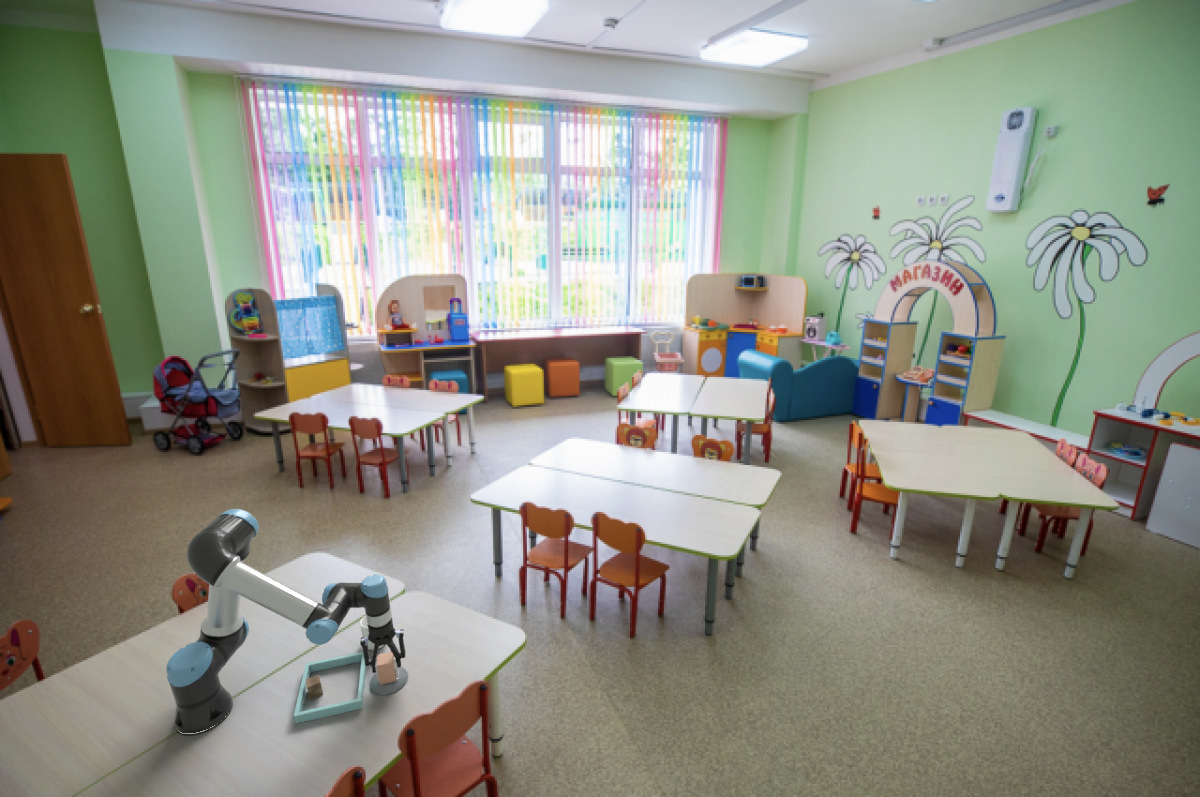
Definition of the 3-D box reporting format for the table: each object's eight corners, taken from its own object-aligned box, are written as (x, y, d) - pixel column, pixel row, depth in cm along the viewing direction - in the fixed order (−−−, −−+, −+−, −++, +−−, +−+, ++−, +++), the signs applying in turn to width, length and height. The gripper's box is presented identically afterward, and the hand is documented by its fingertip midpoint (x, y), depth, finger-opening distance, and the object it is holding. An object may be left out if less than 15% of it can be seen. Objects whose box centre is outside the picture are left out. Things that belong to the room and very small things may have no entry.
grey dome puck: (368, 698, 186) (368, 697, 186) (371, 671, 197) (371, 670, 197) (407, 689, 189) (407, 688, 189) (407, 663, 200) (407, 662, 200)
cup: (361, 652, 205) (358, 629, 202) (368, 629, 217) (364, 607, 213) (386, 649, 207) (382, 626, 204) (391, 626, 218) (387, 604, 215)
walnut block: (309, 699, 186) (307, 687, 184) (308, 691, 189) (305, 679, 188) (323, 694, 188) (320, 682, 186) (321, 686, 191) (318, 674, 190)
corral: (295, 723, 177) (293, 716, 176) (307, 670, 198) (305, 663, 197) (362, 708, 183) (360, 700, 182) (367, 657, 203) (366, 650, 202)
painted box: (396, 681, 191) (393, 662, 189) (380, 684, 190) (376, 665, 187) (396, 670, 196) (393, 651, 193) (380, 673, 194) (377, 654, 192)
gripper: (409, 607, 191) (416, 662, 199) (350, 618, 186) (360, 674, 194) (409, 621, 184) (416, 678, 192) (348, 633, 179) (358, 691, 187)
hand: (388, 676), depth 193 cm, fingers closed on painted box, 5 cm apart
